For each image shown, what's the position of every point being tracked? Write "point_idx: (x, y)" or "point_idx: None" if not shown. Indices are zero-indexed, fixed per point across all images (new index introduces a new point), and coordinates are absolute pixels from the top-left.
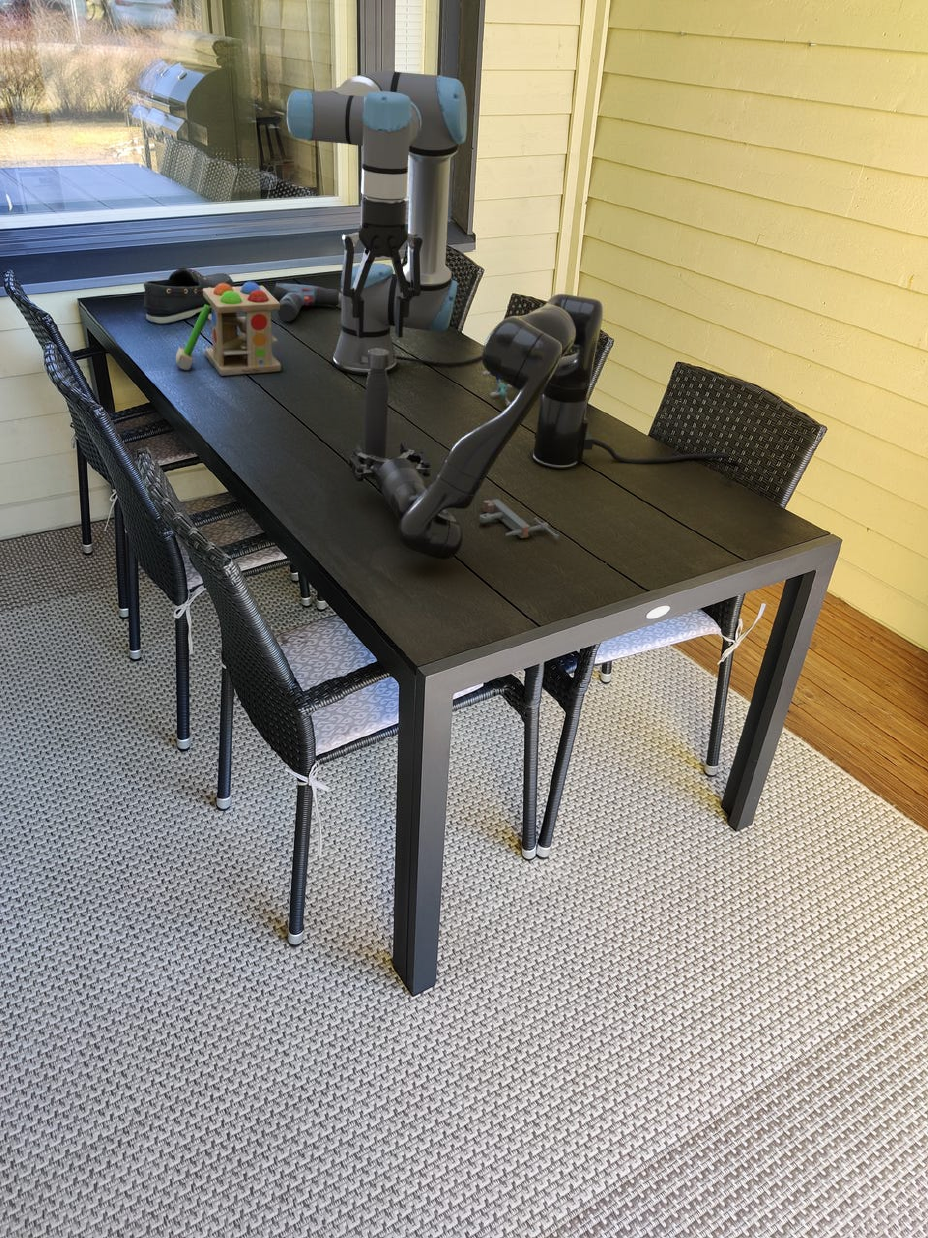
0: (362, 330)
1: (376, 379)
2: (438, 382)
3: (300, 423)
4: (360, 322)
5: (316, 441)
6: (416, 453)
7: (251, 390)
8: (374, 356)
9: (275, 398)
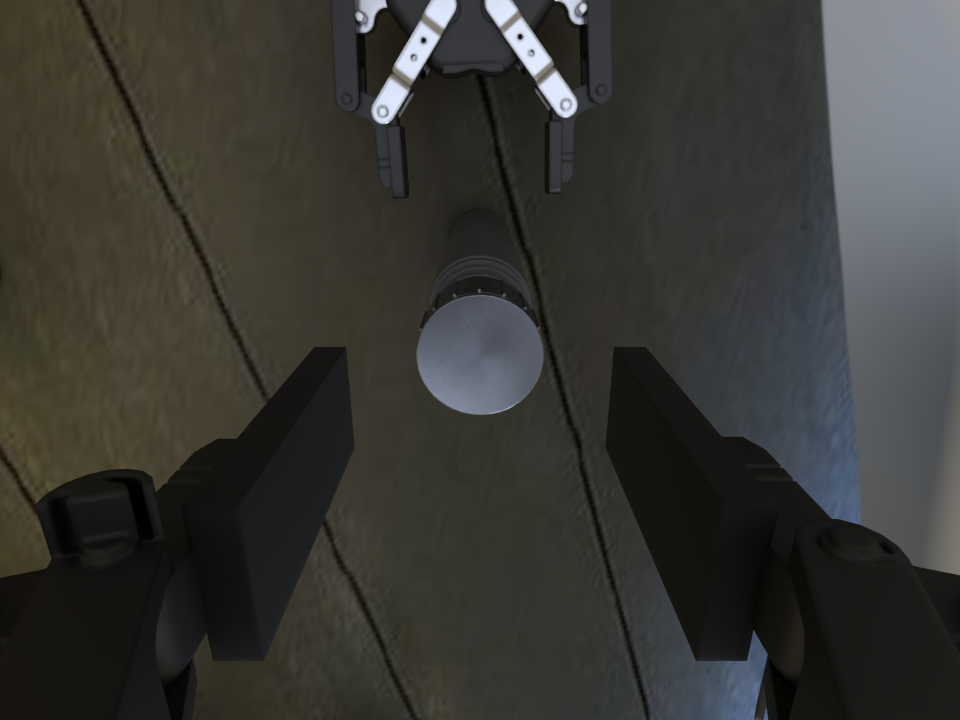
0: (634, 365)
1: (495, 274)
2: (216, 715)
3: (605, 536)
4: (673, 392)
5: (591, 437)
6: (364, 110)
7: (674, 702)
8: (517, 303)
9: (630, 662)
